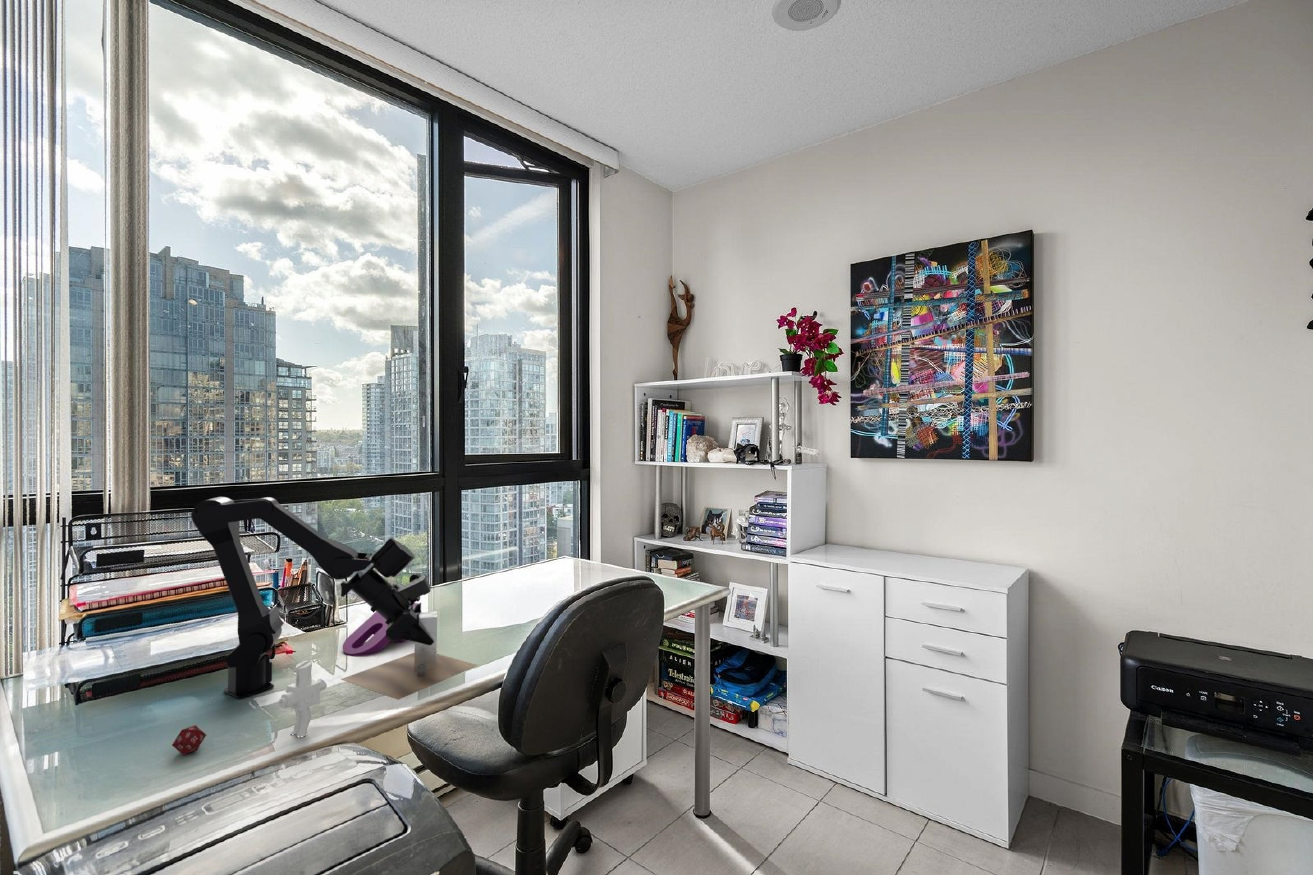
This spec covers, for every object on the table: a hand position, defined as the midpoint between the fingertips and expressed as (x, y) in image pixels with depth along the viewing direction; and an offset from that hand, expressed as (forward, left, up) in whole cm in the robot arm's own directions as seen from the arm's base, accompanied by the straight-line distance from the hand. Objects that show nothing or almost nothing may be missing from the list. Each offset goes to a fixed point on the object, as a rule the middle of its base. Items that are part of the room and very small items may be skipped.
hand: (432, 639), depth 130 cm
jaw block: (-1, +1, -5) cm, 6 cm away
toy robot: (-30, -4, -7) cm, 31 cm away
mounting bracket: (+3, +22, -7) cm, 23 cm away
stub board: (-5, 0, -7) cm, 8 cm away
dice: (-43, +5, -7) cm, 44 cm away
